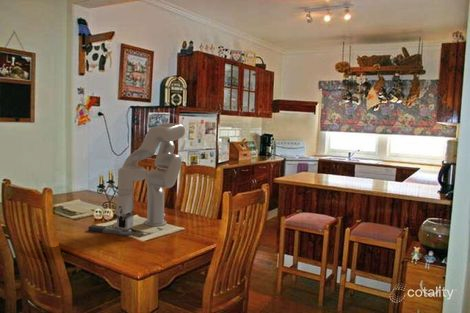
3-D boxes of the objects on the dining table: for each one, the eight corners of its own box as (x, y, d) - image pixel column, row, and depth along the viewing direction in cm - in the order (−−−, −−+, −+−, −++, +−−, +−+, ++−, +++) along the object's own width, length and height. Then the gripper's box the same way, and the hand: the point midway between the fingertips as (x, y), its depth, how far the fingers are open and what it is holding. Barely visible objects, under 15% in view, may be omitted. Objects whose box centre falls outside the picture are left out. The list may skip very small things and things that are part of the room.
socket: (122, 224, 201) (123, 213, 200) (133, 225, 199) (133, 214, 199) (116, 227, 195) (117, 216, 194) (127, 228, 194) (127, 217, 193)
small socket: (116, 228, 207) (116, 222, 207) (122, 228, 206) (122, 222, 206) (112, 230, 204) (112, 223, 203) (118, 230, 203) (118, 224, 203)
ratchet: (93, 228, 205) (93, 216, 205) (133, 233, 200) (133, 221, 199) (86, 231, 199) (86, 220, 198) (127, 236, 194) (127, 224, 193)
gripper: (127, 188, 204) (126, 220, 206) (109, 194, 188) (109, 229, 190) (140, 189, 203) (139, 222, 205) (123, 195, 186) (123, 231, 188)
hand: (125, 225), depth 197 cm, fingers closed on socket, 5 cm apart
